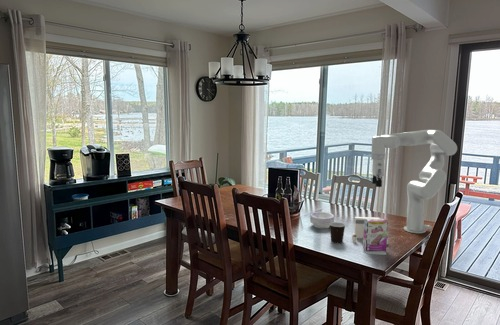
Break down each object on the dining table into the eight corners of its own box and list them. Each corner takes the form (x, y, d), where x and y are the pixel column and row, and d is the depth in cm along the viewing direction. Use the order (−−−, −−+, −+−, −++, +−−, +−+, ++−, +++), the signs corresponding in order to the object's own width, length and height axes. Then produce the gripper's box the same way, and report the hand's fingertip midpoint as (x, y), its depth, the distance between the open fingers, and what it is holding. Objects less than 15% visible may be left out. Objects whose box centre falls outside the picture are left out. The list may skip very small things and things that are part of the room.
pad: (381, 247, 184) (382, 246, 184) (386, 254, 174) (386, 253, 174) (362, 247, 185) (362, 246, 185) (366, 253, 176) (366, 252, 176)
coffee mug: (333, 237, 200) (333, 221, 199) (347, 240, 195) (347, 224, 193) (324, 243, 191) (324, 226, 190) (338, 246, 186) (338, 229, 184)
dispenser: (382, 237, 200) (383, 217, 198) (387, 244, 189) (388, 223, 187) (350, 236, 203) (350, 216, 201) (353, 242, 191) (353, 222, 190)
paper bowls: (332, 231, 212) (332, 219, 211) (308, 228, 216) (308, 216, 215) (334, 224, 226) (335, 212, 225) (311, 222, 231) (312, 210, 230)
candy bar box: (366, 251, 177) (367, 221, 175) (362, 248, 182) (363, 218, 180) (386, 251, 178) (388, 220, 176) (382, 247, 183) (384, 218, 180)
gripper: (388, 158, 191) (387, 188, 193) (381, 155, 208) (380, 182, 210) (374, 158, 192) (373, 188, 194) (368, 155, 209) (367, 182, 211)
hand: (376, 185), depth 202 cm, fingers open, 9 cm apart
